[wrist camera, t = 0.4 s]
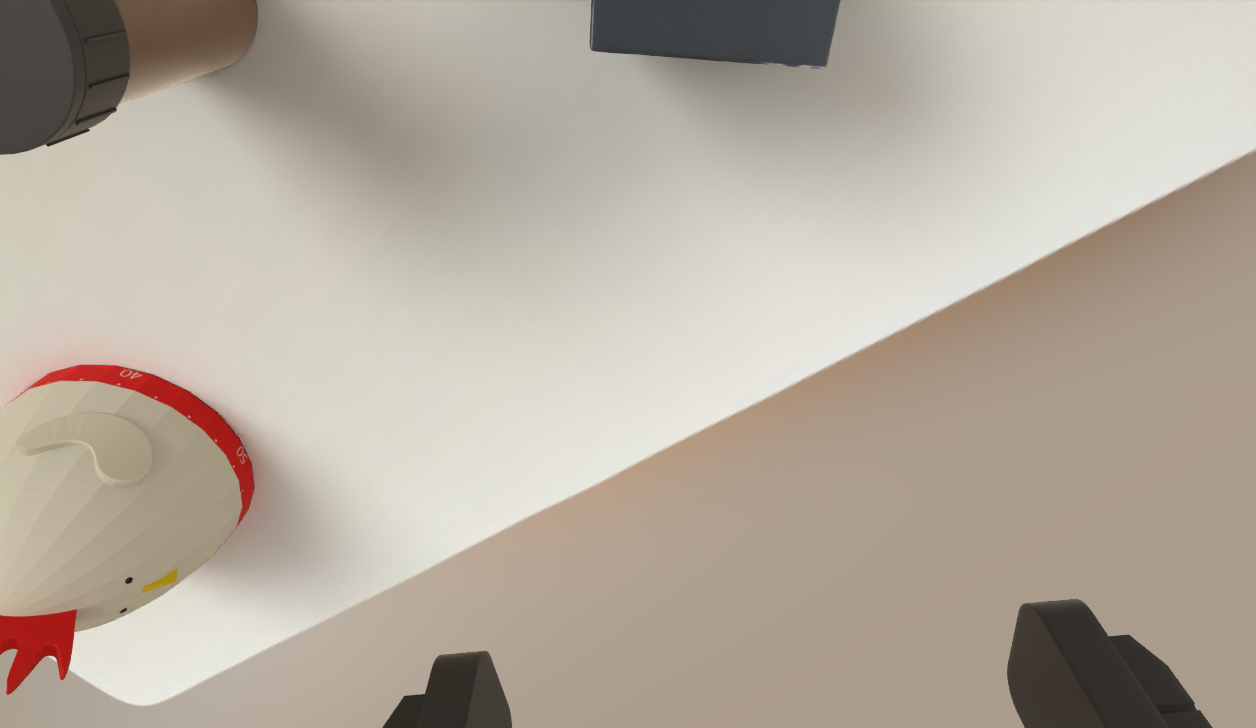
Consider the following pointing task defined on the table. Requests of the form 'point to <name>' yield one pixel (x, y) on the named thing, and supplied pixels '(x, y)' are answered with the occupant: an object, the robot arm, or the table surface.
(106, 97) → the lid
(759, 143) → the table surface
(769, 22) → the box
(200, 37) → the jar
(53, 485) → the kitchen timer
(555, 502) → the table surface
